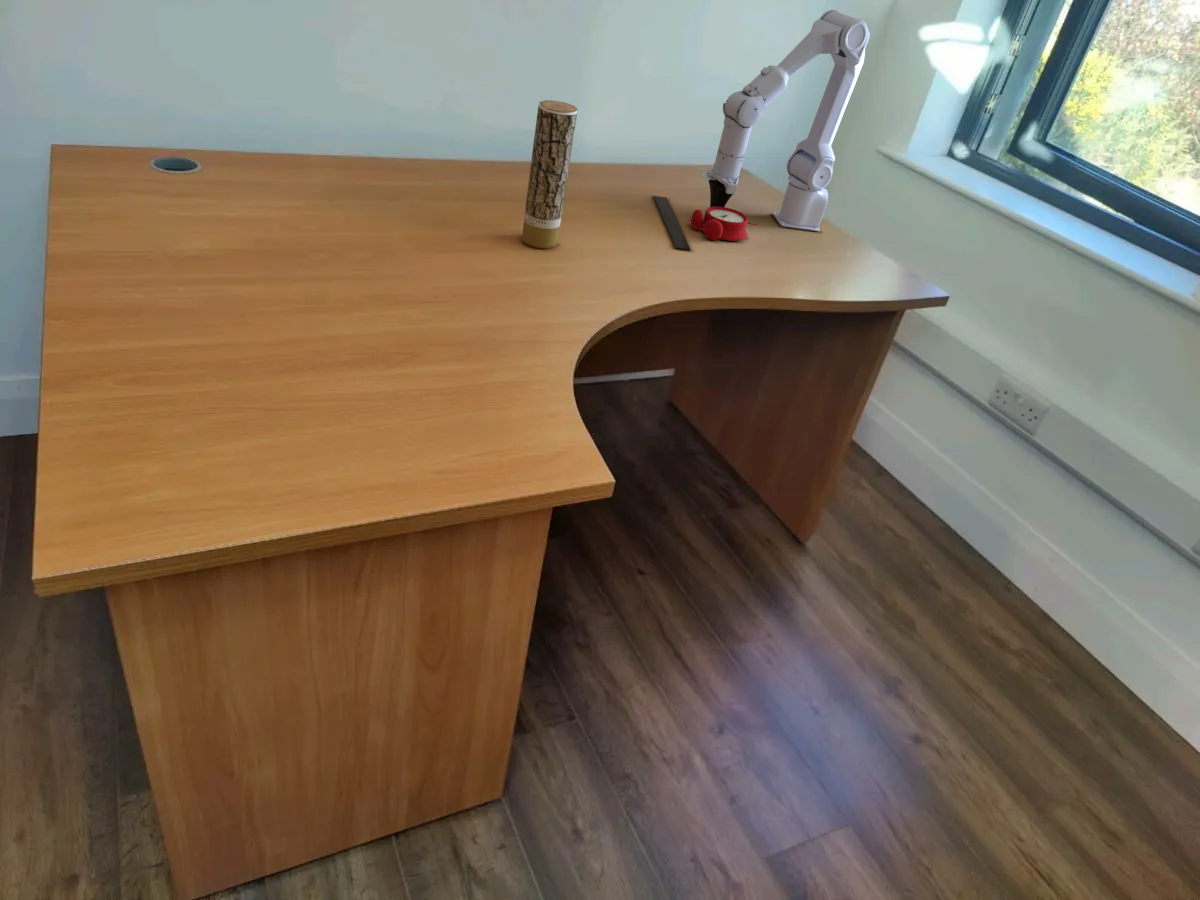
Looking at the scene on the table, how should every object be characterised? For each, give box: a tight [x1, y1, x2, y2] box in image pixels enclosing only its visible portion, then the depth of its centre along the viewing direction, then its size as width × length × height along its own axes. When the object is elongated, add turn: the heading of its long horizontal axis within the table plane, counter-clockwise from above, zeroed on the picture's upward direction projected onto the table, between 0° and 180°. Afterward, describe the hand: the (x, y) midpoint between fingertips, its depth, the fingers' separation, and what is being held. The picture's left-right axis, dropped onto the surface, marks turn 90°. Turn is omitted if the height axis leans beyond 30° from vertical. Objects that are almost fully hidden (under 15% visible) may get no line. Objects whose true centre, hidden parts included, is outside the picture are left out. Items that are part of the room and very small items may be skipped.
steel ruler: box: [653, 195, 691, 252], centre depth 180 cm, size 3×30×1 cm, turn 6°
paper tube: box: [521, 99, 579, 250], centre depth 151 cm, size 7×7×25 cm
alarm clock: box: [687, 206, 758, 242], centre depth 179 cm, size 10×6×15 cm
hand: (714, 214), depth 184 cm, fingers closed
